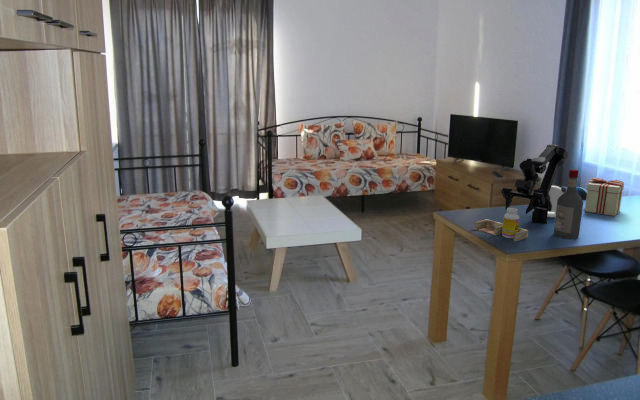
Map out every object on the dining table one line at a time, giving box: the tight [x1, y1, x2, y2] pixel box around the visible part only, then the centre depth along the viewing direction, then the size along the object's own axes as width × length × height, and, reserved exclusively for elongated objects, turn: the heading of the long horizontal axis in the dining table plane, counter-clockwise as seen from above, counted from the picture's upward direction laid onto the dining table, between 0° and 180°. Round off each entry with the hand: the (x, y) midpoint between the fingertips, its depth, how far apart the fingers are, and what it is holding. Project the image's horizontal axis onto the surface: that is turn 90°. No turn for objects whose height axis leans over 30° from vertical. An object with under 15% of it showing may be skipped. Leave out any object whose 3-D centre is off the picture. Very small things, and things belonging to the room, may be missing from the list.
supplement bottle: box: [501, 207, 520, 240], centre depth 237 cm, size 7×7×13 cm
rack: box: [474, 218, 529, 242], centre depth 242 cm, size 22×9×4 cm, turn 37°
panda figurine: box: [547, 185, 567, 218], centre depth 272 cm, size 12×11×15 cm
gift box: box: [584, 177, 625, 217], centre depth 280 cm, size 17×18×17 cm
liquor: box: [553, 168, 584, 240], centre depth 236 cm, size 9×9×30 cm
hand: (515, 211), depth 238 cm, fingers open, 9 cm apart
